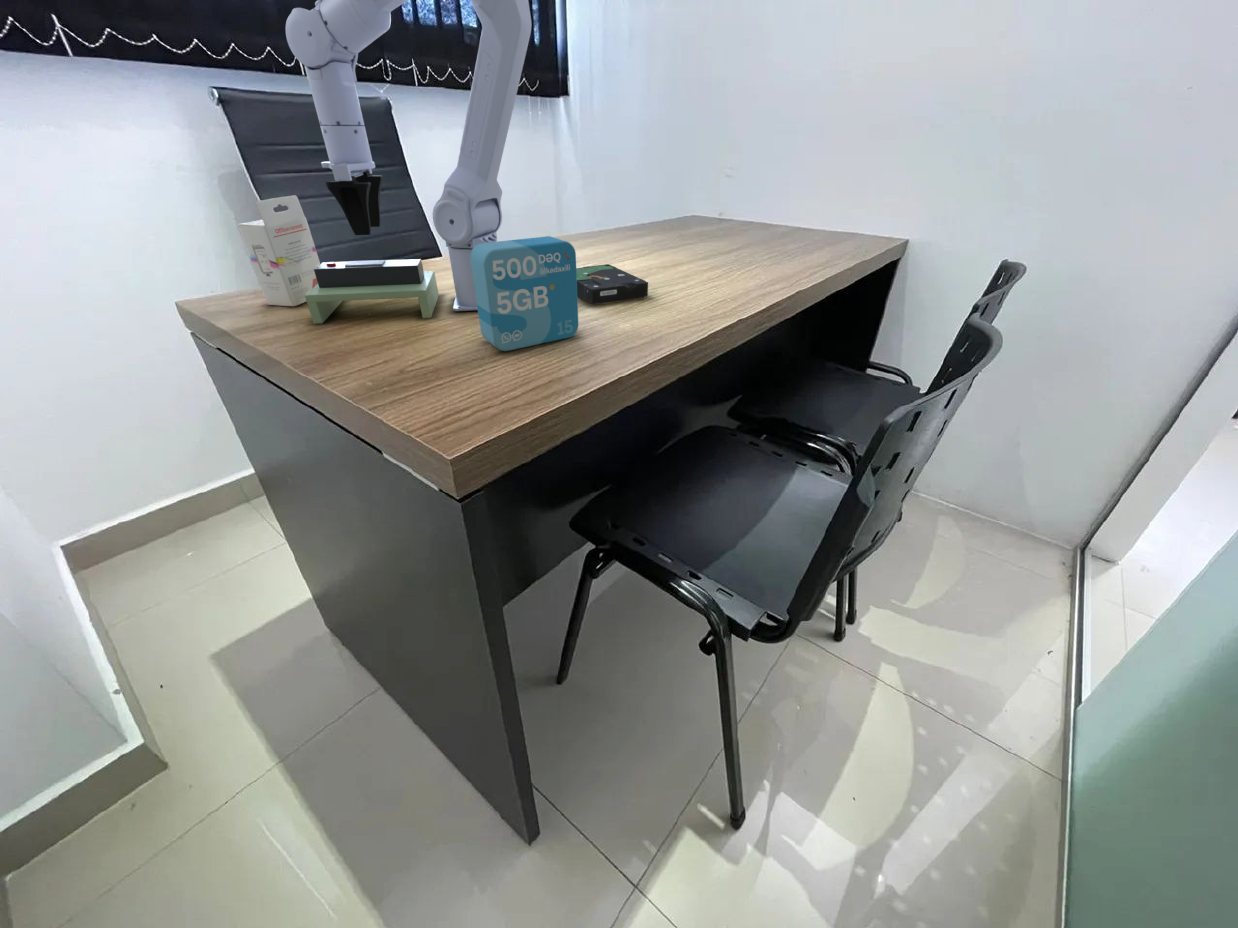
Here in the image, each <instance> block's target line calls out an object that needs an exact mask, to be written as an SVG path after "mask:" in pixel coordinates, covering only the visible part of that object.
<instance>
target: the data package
mask: <svg viewBox="0 0 1238 928" xmlns="http://www.w3.org/2000/svg"><path fill="white" fill-rule="evenodd" d="M576 253H577V252H576V249H575V247H574V246H573V244H572V243H571V242H569V241H566V240H562V239H559V238H557V237H554V236H550V235H545V236H538V237H536V236H535V237H529V238H520V239H519V238H518V239H510V240H501V241H498V240H497V242H489V243H481V244H478V245H476V246H475V247H474V248H473V250H472V252H471V255H470V260H471V267H472V274H473V281H474V288H475V294H476V301H477V308H478V310H477V315H478V321H479V327H480V328H479V329H480V333H481V336H482V338H483V339H485V340H486V341H487V342H488V343H490V344H491V345H492V346H494V347H495V348H496V349H498V350H499V351H502V352H509V351H510V352H511V351H515V350H519V349H524V348H528V347H533V346H538V345H542V344H547V343H552V342H556V341H562V340H565V339H570V338H571V337H573V336H574V335H576V333H577V331H578V329H579V306H578V305H579V304H578V303H579V300H578V296H577V273H576V268H577V254H576Z"/></svg>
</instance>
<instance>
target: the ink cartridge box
mask: <svg viewBox="0 0 1238 928" xmlns="http://www.w3.org/2000/svg"><path fill="white" fill-rule="evenodd" d="M279 205H280V206H281V207H287V209H285V210H283V211H275V209H274V208H278V207H279ZM255 206H256V208H257V210H258V212H259V214H260V215H259V216H260V218H261V219H259V220H258V219H257V220H253V221H249V222H242V223H237V224H236V225H237V228H238V231H239V233H240V236H241V239H242V241H243V244H244V246H245V249H246V252H247V253H248V256H249V259H250V262H251V264H252V266H253V269H254V273H255V274H256V277H257V280H258V282H259V285H260V287H261V290H262V292H263V295H264V297H265V300H266V303H267V305H268V306H279V307H280V306H281V307H282V306H283V307H297V306H299V305H301V304H304V303H307V302H306V299H305V295H306V294H307V293H308V292H309V291H310V290H311V289H312V288H314V287H315V286H316V285H317V284H318V282H317V279H316V275H315V272H314V269H315V268H316V267H317V266H319V265H320V264H321V261H320V258H319V255H318V252H317V248H316V245H315V242H314V238H313V236H312V233H311V229H310V226H309V223H308V219H307V217H306V216H305V213H304V211H303V208H302V205H301V203H300V200H299V198H298V196H297V195H295V194H293V195H287V196H279V197H272V198H267V199H261V200H256V202H255Z"/></svg>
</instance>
